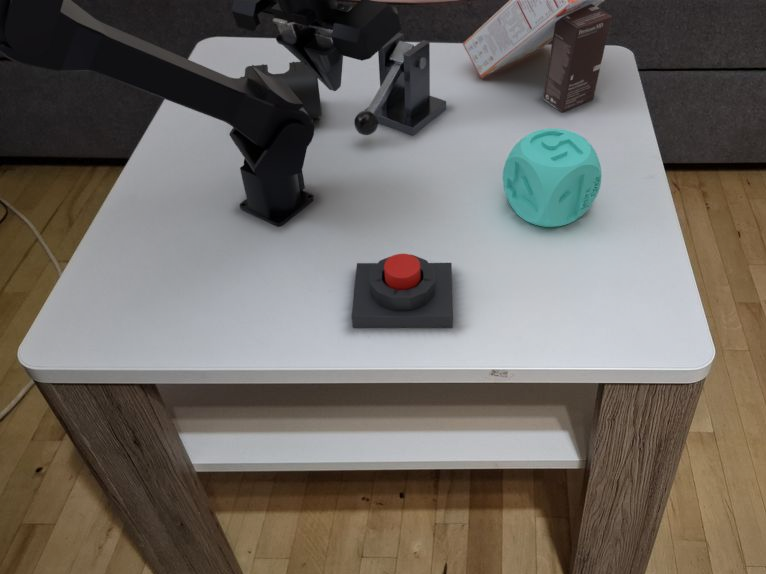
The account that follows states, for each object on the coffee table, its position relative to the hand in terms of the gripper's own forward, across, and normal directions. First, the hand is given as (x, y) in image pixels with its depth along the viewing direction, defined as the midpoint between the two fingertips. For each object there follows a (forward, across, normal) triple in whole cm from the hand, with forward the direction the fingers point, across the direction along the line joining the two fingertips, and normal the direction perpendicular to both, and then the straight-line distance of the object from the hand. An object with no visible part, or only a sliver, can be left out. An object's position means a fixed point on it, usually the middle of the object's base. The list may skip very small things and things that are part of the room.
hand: (335, 88), depth 83 cm
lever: (+10, +4, -12) cm, 16 cm away
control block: (+12, -18, +14) cm, 25 cm away
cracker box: (+17, +3, -35) cm, 39 cm away
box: (+19, -11, -30) cm, 37 cm away
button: (+9, -18, +14) cm, 24 cm away
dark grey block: (+12, +17, -4) cm, 22 cm away
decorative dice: (+16, -21, -8) cm, 28 cm away
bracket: (+15, +5, -15) cm, 21 cm away
